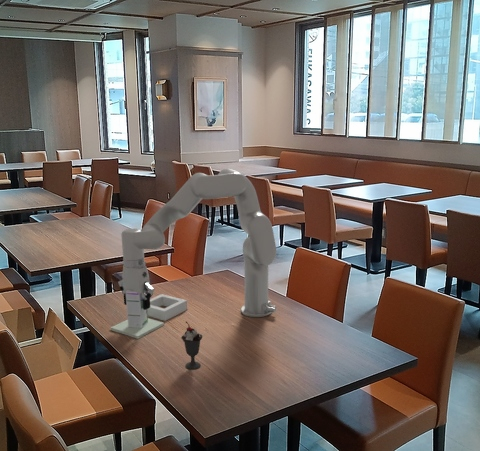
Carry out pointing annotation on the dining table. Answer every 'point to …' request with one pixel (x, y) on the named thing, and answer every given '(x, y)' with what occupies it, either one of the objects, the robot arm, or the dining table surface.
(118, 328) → the mat
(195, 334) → the sundae
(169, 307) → the holder
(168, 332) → the dining table surface
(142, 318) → the syrup box
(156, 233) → the robot arm
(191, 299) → the dining table surface
